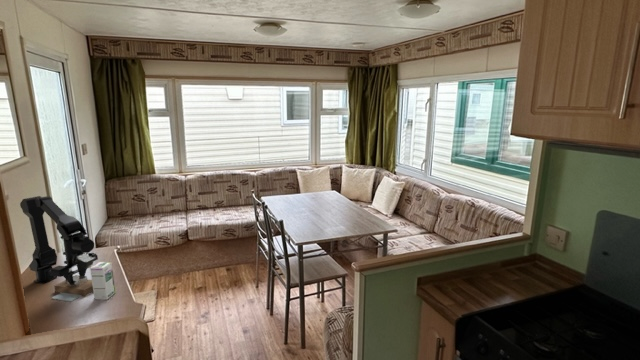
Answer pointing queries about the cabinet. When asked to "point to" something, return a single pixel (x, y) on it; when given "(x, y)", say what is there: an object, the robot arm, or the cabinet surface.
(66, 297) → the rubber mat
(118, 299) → the cabinet surface
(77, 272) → the lever
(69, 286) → the body
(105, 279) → the syrup box
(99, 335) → the cabinet surface
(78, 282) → the grey block
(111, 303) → the cabinet surface
